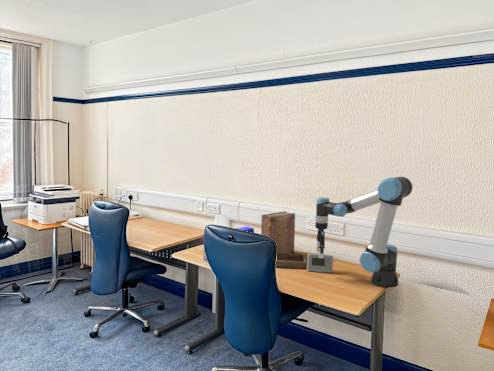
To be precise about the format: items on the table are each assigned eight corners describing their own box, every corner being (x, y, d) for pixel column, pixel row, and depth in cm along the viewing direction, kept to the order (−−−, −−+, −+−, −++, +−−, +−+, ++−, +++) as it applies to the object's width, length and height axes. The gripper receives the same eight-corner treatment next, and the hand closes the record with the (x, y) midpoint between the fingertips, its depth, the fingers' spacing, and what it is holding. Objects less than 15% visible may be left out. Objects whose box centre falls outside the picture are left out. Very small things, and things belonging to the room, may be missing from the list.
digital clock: (305, 271, 241) (306, 254, 240) (309, 267, 249) (309, 251, 248) (331, 275, 235) (331, 258, 233) (333, 270, 243) (334, 254, 242)
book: (284, 250, 287) (286, 211, 283) (294, 252, 280) (295, 213, 276) (260, 256, 270) (261, 215, 267) (269, 259, 263) (270, 217, 260)
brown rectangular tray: (306, 268, 246) (306, 262, 245) (273, 267, 247) (273, 261, 247) (304, 260, 263) (304, 254, 262) (273, 259, 264) (273, 253, 264)
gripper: (313, 217, 251) (312, 248, 253) (317, 226, 226) (316, 260, 229) (325, 218, 250) (323, 249, 253) (330, 227, 225) (328, 261, 228)
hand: (319, 254), depth 241 cm, fingers open, 13 cm apart
